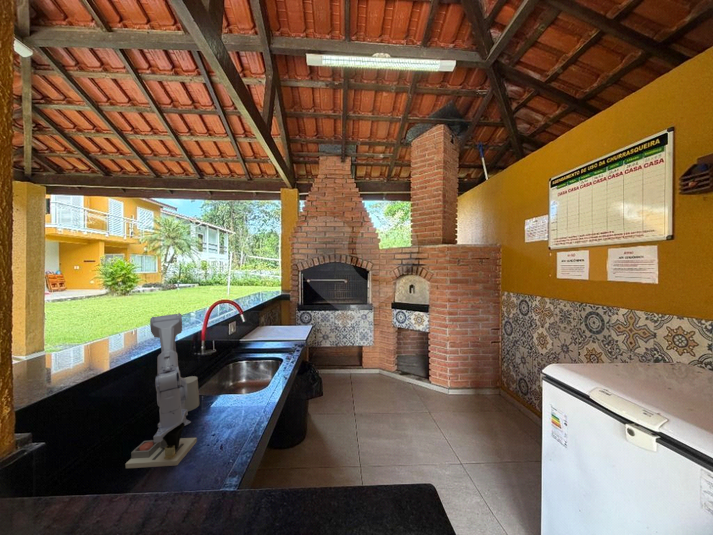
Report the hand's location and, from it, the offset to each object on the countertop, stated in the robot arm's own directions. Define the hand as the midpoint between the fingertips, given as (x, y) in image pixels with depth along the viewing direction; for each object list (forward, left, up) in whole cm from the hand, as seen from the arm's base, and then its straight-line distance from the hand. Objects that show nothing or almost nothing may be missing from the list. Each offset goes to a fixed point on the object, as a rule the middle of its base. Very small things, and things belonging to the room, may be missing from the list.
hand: (174, 449), depth 90 cm
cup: (-29, +19, -3) cm, 35 cm away
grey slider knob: (-6, 0, -1) cm, 6 cm away
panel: (-5, -1, -3) cm, 6 cm away
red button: (-9, -4, -1) cm, 10 cm away
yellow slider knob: (+1, -2, -1) cm, 2 cm away
